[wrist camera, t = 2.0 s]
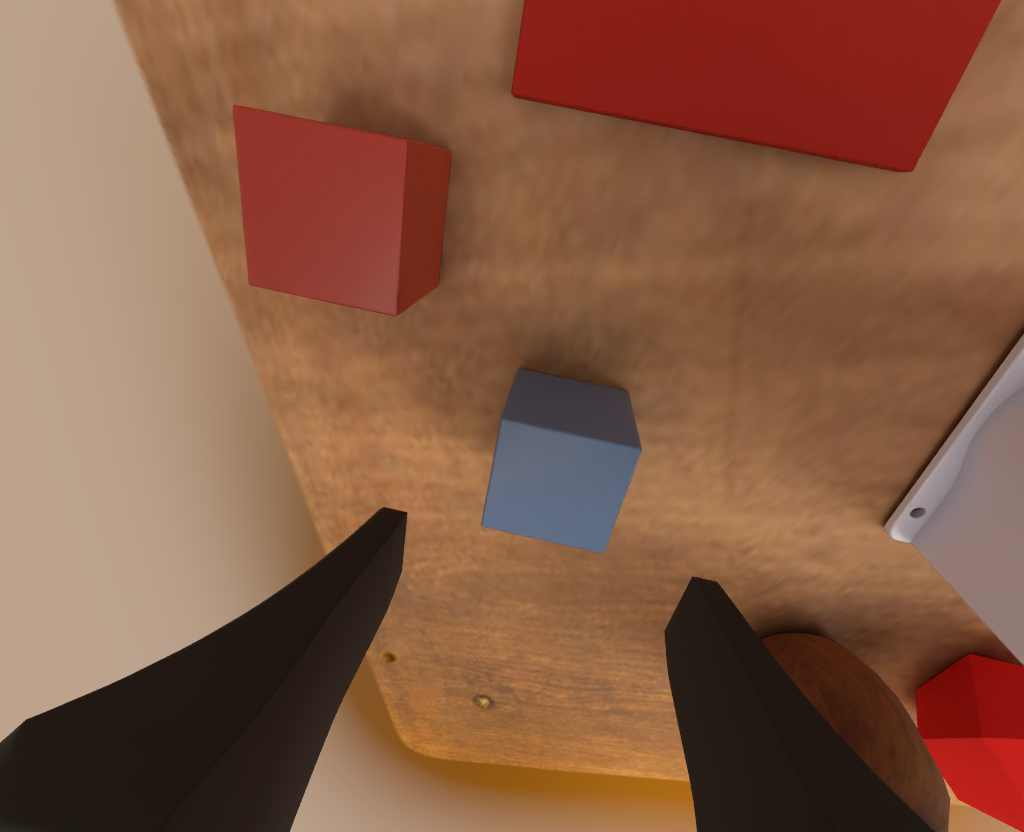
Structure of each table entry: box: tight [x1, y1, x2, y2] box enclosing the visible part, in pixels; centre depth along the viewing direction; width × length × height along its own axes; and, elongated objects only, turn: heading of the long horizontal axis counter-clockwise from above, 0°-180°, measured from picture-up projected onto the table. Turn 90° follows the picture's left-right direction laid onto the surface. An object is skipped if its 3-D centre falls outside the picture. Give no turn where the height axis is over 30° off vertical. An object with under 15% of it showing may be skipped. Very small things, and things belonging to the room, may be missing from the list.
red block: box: [233, 105, 452, 316], centre depth 14 cm, size 4×4×4 cm
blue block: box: [481, 368, 642, 554], centre depth 17 cm, size 4×4×4 cm
